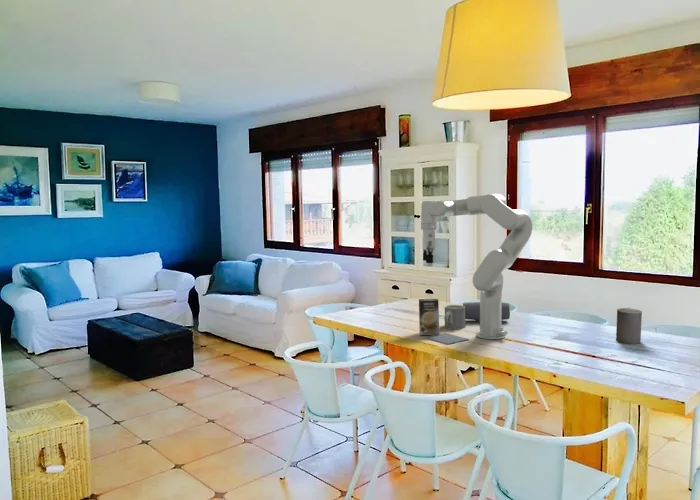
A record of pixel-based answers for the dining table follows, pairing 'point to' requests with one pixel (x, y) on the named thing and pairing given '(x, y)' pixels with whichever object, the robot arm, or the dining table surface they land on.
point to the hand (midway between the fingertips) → (427, 261)
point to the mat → (446, 338)
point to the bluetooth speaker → (474, 311)
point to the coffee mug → (454, 316)
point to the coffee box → (429, 316)
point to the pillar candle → (628, 326)
